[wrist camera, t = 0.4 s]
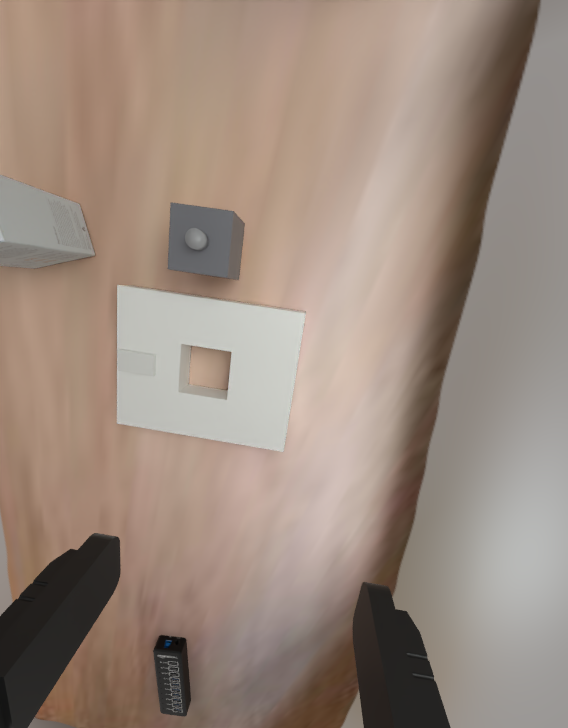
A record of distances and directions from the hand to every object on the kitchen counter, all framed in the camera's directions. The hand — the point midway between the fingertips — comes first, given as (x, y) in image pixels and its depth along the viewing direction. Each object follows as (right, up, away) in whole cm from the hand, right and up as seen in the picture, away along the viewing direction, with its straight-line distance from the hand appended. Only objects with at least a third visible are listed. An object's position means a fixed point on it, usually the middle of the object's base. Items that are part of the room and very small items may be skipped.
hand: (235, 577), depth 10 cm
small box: (-24, +21, +24) cm, 40 cm away
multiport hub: (-16, -43, +39) cm, 61 cm away
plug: (-5, +19, +23) cm, 30 cm away
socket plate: (-7, +7, +26) cm, 28 cm away
